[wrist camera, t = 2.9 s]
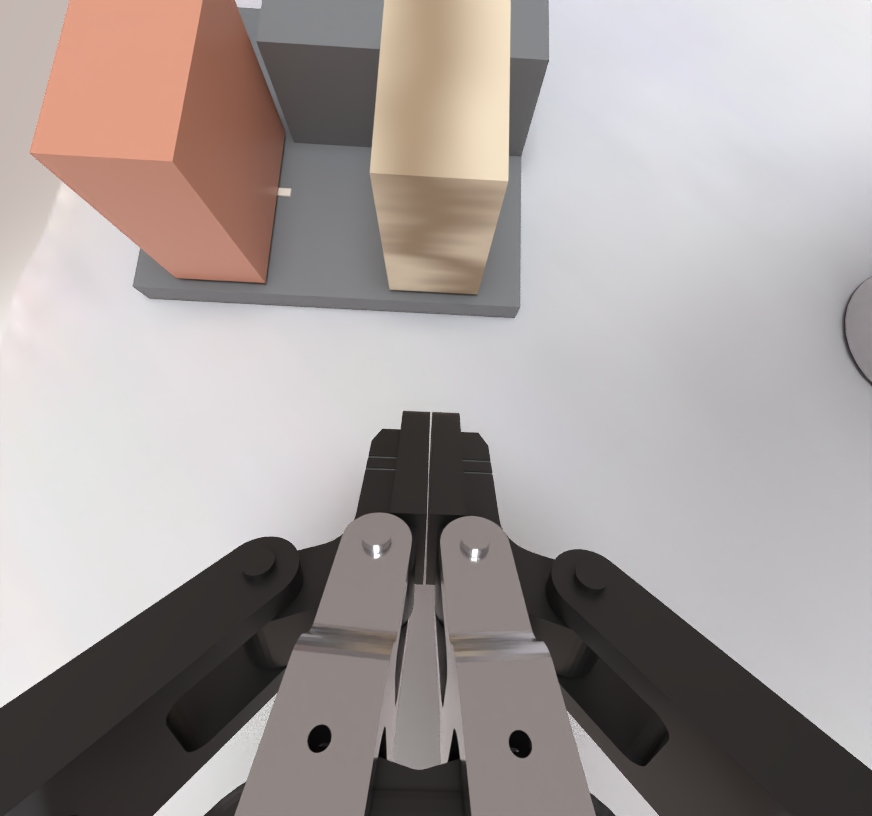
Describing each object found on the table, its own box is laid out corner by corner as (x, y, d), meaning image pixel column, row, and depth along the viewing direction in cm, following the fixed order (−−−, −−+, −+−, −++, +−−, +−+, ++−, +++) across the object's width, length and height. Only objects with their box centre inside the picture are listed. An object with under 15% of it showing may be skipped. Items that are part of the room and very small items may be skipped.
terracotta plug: (285, 131, 26) (213, -56, 17) (265, 283, 24) (172, 161, 15) (202, 126, 26) (86, -65, 17) (175, 278, 24) (29, 153, 15)
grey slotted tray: (517, 49, 30) (547, -97, 22) (514, 317, 26) (550, 248, 18) (200, 28, 29) (124, -127, 22) (149, 298, 25) (37, 220, 18)
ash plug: (481, 143, 26) (511, -36, 17) (477, 294, 24) (508, 181, 15) (400, 138, 26) (387, -44, 17) (389, 289, 24) (369, 173, 15)
